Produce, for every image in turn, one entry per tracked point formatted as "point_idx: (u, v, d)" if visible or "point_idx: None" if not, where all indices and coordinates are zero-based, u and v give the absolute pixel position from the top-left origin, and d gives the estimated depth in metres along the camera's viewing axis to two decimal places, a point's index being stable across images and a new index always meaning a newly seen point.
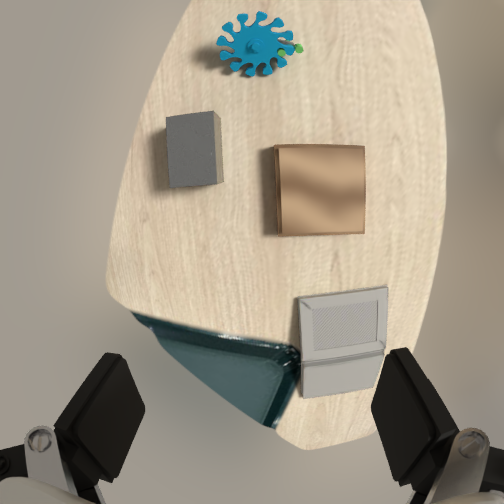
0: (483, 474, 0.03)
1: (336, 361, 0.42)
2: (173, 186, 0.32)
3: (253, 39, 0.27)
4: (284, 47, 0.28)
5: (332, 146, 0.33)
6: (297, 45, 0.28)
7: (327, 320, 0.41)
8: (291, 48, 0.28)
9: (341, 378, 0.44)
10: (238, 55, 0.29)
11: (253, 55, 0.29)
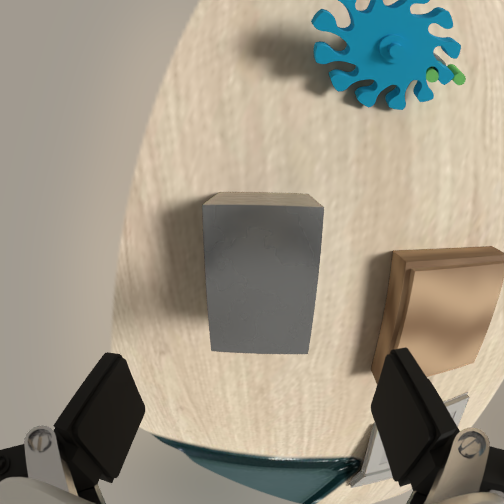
0: (483, 474, 0.03)
1: None
2: (219, 349, 0.16)
3: (394, 35, 0.10)
4: (440, 67, 0.11)
5: (477, 260, 0.17)
6: (456, 69, 0.11)
7: None
8: (449, 72, 0.11)
9: None
10: (354, 60, 0.12)
11: (383, 67, 0.12)
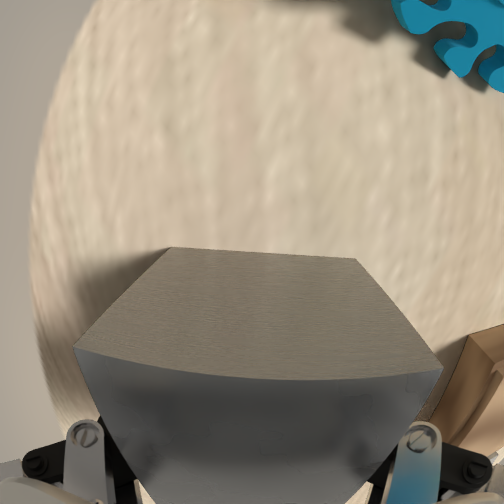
0: (432, 471, 0.04)
1: None
2: None
3: None
4: None
5: None
6: None
7: None
8: None
9: None
10: None
11: (489, 8, 0.03)
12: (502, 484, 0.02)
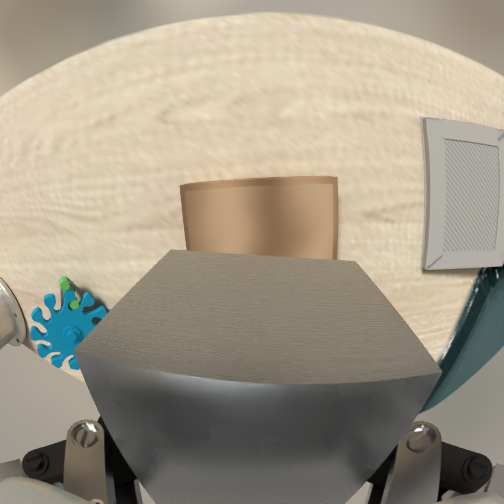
0: (432, 471, 0.04)
1: None
2: None
3: (64, 338, 0.23)
4: (66, 303, 0.23)
5: (188, 241, 0.22)
6: None
7: (461, 227, 0.21)
8: (65, 295, 0.23)
9: None
10: None
11: (84, 333, 0.25)
12: (502, 484, 0.02)
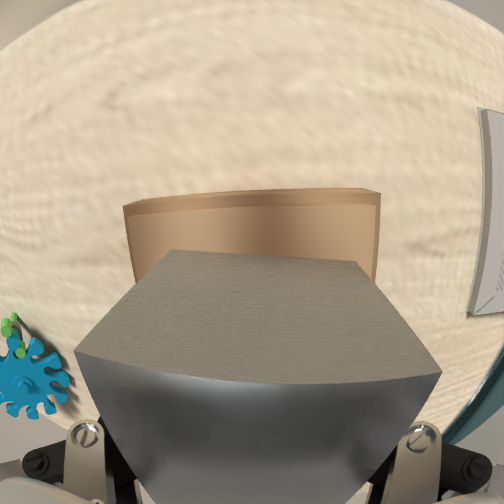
0: (432, 471, 0.04)
1: None
2: None
3: (15, 388, 0.15)
4: (10, 351, 0.14)
5: None
6: None
7: None
8: (8, 342, 0.14)
9: None
10: (44, 398, 0.17)
11: (37, 383, 0.16)
12: (501, 485, 0.02)
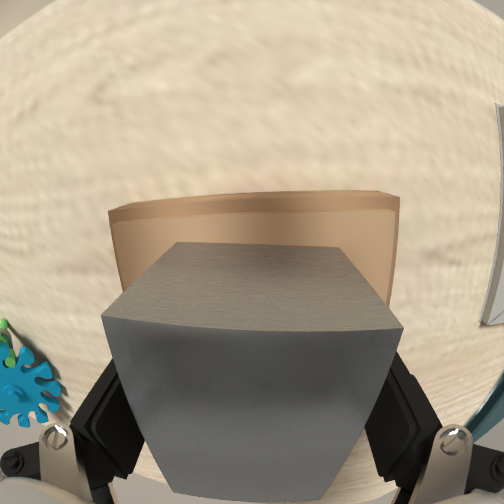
0: (465, 472, 0.03)
1: None
2: (184, 493, 0.08)
3: (6, 397, 0.13)
4: (0, 360, 0.13)
5: None
6: None
7: None
8: None
9: None
10: (35, 407, 0.15)
11: (28, 393, 0.15)
12: None
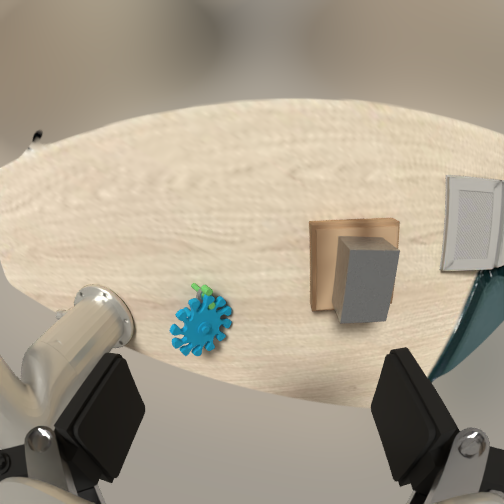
0: (483, 474, 0.03)
1: (500, 235, 0.31)
2: (344, 322, 0.30)
3: (198, 331, 0.37)
4: (206, 305, 0.36)
5: (314, 260, 0.35)
6: (203, 292, 0.36)
7: (466, 244, 0.33)
8: (207, 299, 0.36)
9: None
10: (211, 337, 0.39)
11: (213, 327, 0.38)
12: None
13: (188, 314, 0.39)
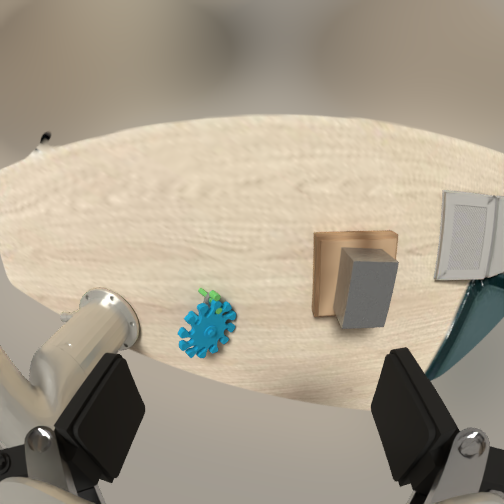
0: (483, 474, 0.03)
1: (492, 247, 0.34)
2: (345, 327, 0.33)
3: (204, 335, 0.38)
4: (214, 310, 0.38)
5: (318, 269, 0.37)
6: (212, 297, 0.38)
7: (459, 255, 0.36)
8: (215, 304, 0.38)
9: None
10: (216, 341, 0.40)
11: (218, 330, 0.40)
12: None
13: None
